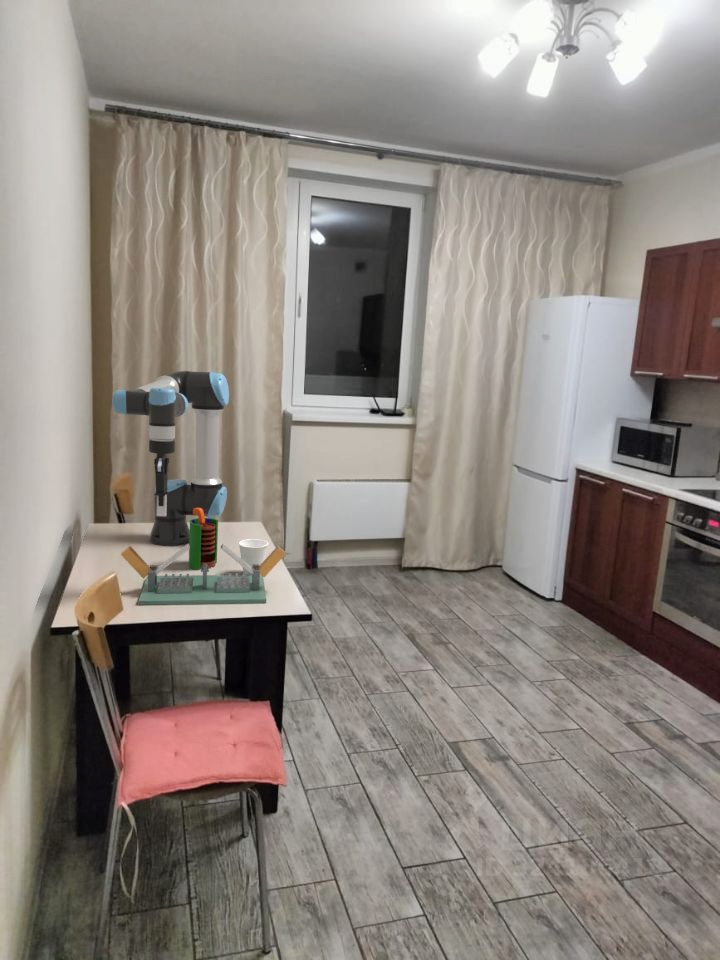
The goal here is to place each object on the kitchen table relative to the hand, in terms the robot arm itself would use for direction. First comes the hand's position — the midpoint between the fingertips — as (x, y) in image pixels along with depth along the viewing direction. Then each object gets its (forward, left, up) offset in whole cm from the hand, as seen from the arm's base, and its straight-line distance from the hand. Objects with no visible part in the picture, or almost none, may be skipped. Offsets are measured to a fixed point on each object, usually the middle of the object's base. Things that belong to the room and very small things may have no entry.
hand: (161, 515), depth 213 cm
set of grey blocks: (+4, +13, -22) cm, 26 cm away
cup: (-11, +29, -23) cm, 39 cm away
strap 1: (+4, +3, -15) cm, 15 cm away
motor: (-21, +12, -23) cm, 34 cm away
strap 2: (+4, +24, -15) cm, 28 cm away
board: (+4, +13, -23) cm, 27 cm away
